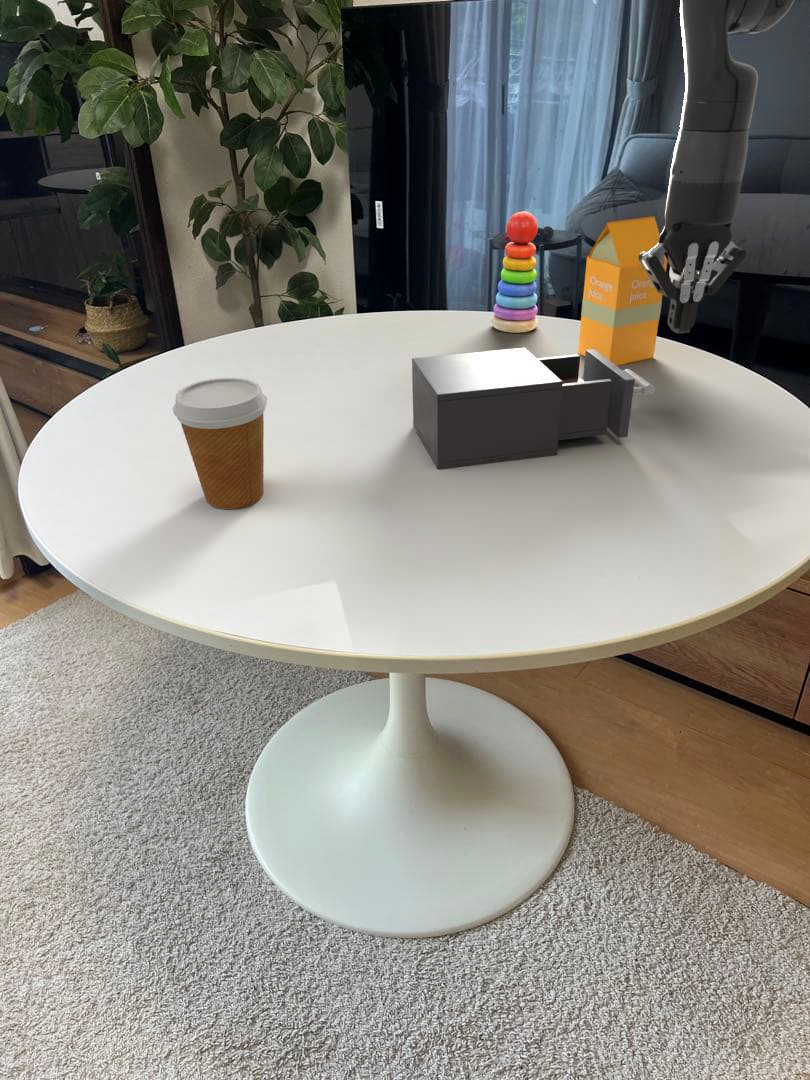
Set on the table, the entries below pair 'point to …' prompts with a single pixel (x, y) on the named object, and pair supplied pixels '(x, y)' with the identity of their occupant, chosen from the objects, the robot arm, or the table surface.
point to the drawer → (595, 395)
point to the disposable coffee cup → (225, 438)
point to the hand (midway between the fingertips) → (679, 330)
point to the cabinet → (485, 407)
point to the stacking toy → (518, 278)
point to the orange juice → (621, 294)
